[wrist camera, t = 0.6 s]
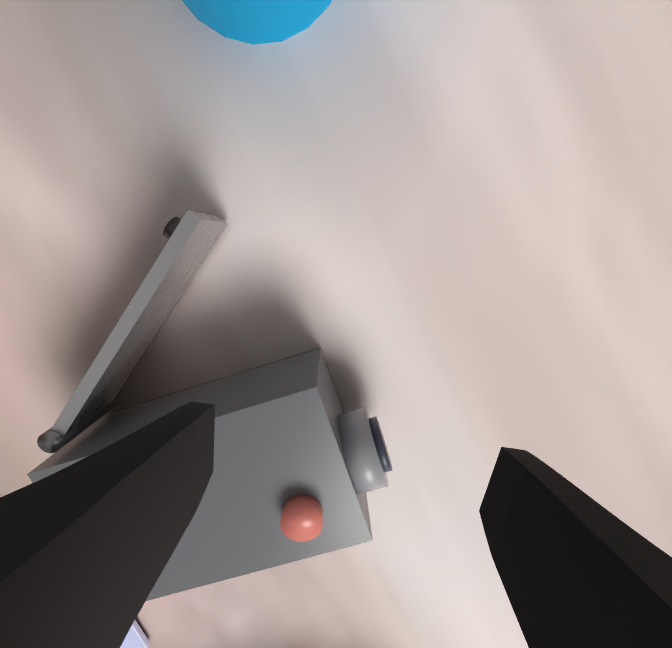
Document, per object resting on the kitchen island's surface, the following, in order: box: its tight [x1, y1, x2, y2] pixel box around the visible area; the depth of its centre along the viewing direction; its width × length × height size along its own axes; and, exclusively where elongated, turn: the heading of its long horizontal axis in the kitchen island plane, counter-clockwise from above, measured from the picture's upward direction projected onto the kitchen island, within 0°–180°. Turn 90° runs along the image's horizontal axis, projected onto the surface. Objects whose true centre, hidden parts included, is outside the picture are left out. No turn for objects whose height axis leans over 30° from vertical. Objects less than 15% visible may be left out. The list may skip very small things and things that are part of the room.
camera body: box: [27, 348, 392, 601], centre depth 17 cm, size 15×8×6 cm, turn 108°
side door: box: [37, 210, 228, 453], centre depth 16 cm, size 13×2×4 cm, turn 143°
